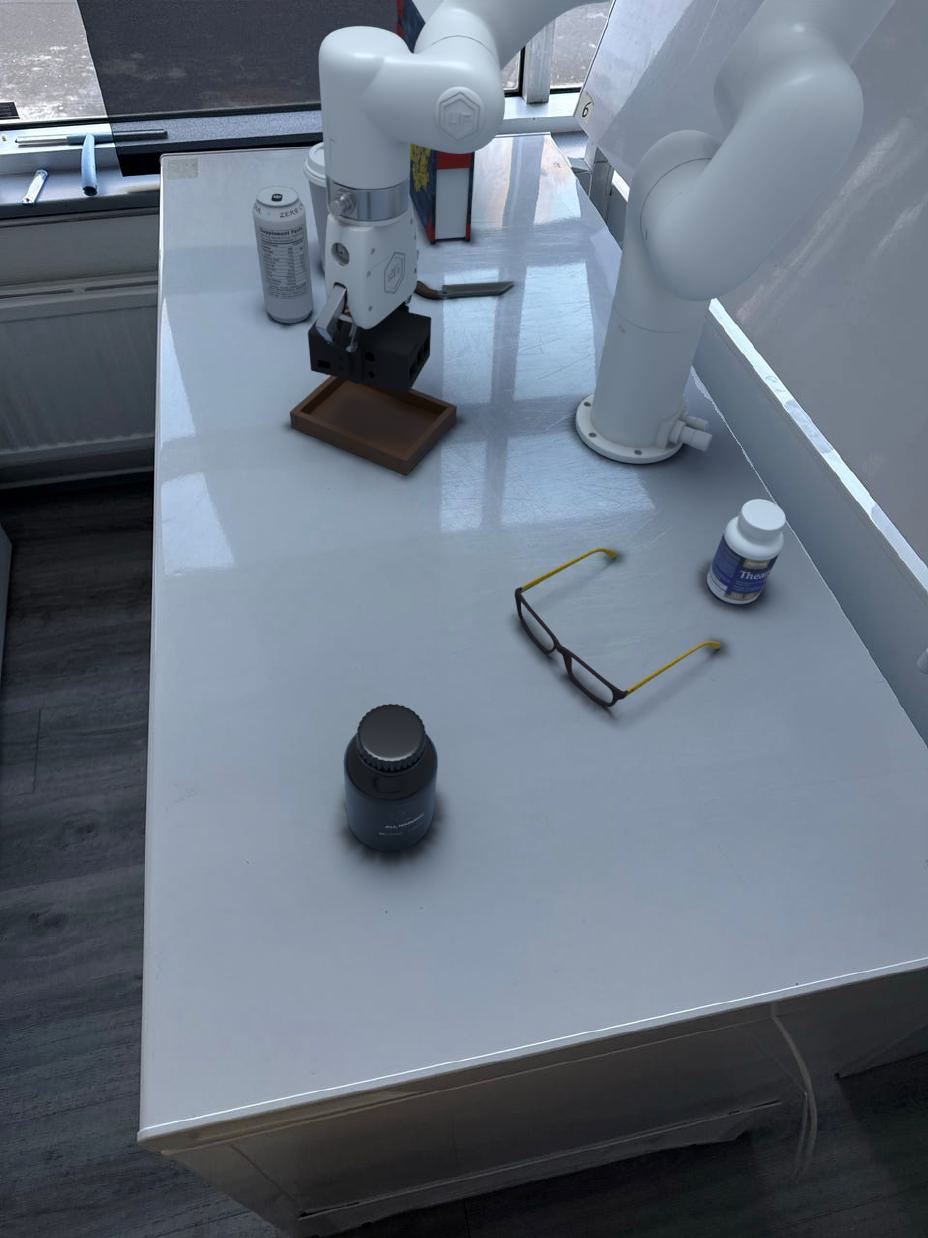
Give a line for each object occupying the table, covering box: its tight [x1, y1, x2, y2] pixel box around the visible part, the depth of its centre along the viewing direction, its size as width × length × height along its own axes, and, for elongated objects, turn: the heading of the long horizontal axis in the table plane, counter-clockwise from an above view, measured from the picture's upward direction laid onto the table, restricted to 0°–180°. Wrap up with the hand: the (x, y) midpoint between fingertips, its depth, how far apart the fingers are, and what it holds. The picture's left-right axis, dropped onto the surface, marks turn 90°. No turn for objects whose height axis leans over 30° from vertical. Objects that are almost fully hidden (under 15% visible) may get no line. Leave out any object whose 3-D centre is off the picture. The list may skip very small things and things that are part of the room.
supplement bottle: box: [343, 703, 439, 852], centre depth 66 cm, size 7×7×12 cm
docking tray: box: [289, 375, 458, 476], centre depth 100 cm, size 15×11×2 cm
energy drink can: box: [252, 184, 314, 324], centre depth 108 cm, size 6×6×15 cm
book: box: [395, 0, 476, 245], centre depth 125 cm, size 25×7×25 cm, turn 14°
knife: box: [413, 279, 515, 299], centre depth 119 cm, size 14×4×1 cm, turn 101°
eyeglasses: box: [514, 547, 722, 708], centre depth 82 cm, size 14×14×4 cm
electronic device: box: [307, 308, 432, 394], centre depth 93 cm, size 7×11×5 cm
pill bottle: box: [706, 498, 787, 605], centre depth 85 cm, size 5×5×10 cm
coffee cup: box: [302, 141, 330, 273], centre depth 116 cm, size 10×10×15 cm
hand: (371, 356), depth 94 cm, fingers closed on electronic device, 8 cm apart
